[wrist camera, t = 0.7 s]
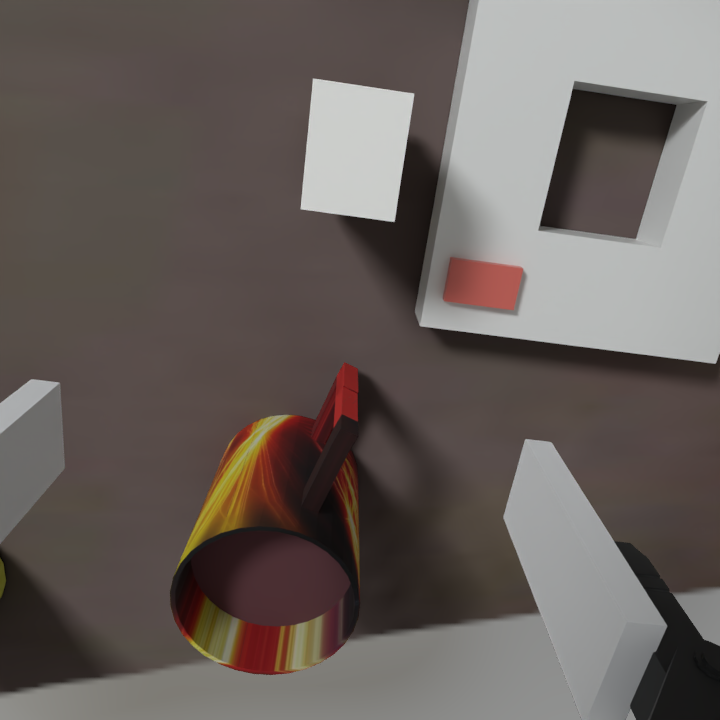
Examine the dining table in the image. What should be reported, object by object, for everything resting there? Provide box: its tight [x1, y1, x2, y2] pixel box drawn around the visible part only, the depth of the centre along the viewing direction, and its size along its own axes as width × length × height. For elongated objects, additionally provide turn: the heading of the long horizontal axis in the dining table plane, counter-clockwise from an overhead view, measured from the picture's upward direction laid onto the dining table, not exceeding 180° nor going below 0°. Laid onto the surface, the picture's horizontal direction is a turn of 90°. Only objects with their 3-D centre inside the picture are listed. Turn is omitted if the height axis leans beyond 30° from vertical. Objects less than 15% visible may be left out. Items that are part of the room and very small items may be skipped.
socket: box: [415, 0, 720, 364], centre depth 32 cm, size 20×18×4 cm
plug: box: [301, 79, 414, 222], centre depth 28 cm, size 5×4×10 cm
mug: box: [170, 362, 360, 675], centre depth 34 cm, size 10×14×12 cm
